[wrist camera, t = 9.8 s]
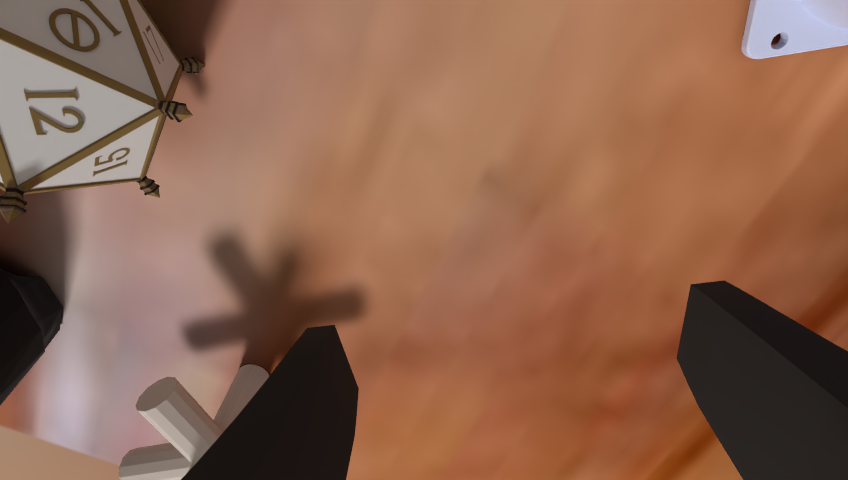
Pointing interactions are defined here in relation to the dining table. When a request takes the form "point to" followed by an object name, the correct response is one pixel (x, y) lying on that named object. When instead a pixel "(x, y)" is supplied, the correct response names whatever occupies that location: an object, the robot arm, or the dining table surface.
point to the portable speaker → (24, 326)
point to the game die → (82, 96)
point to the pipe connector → (185, 425)
